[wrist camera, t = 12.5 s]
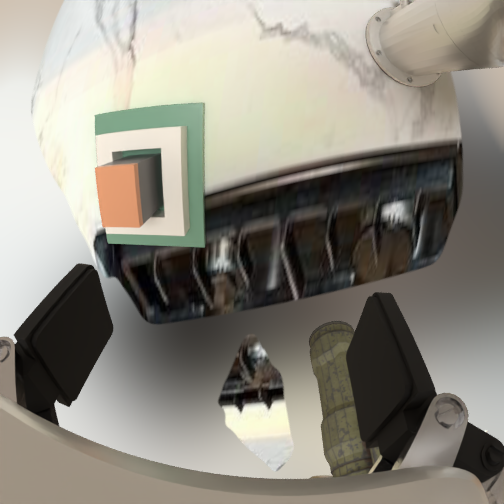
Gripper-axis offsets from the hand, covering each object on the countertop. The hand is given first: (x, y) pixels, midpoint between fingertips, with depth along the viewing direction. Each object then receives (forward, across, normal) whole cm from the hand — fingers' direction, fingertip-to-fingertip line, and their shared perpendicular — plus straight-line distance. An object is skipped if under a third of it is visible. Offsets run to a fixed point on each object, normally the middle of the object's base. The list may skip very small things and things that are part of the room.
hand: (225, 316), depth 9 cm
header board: (+29, +15, +3) cm, 33 cm away
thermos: (+29, -16, +30) cm, 45 cm away
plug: (+28, +15, +3) cm, 32 cm away
